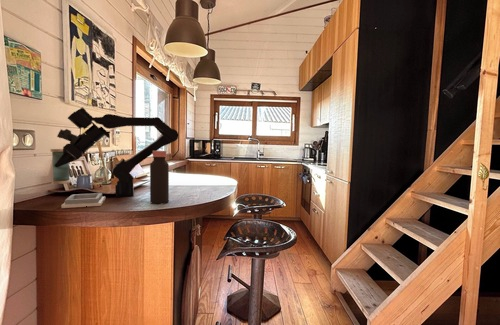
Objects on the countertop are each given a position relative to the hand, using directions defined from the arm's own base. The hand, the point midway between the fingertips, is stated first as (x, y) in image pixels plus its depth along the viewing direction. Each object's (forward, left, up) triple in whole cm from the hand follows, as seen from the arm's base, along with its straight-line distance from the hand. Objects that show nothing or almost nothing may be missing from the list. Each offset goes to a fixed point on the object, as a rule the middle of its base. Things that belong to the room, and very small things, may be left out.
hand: (56, 165), depth 97 cm
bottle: (-36, +14, -14) cm, 41 cm away
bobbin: (-1, 0, -7) cm, 7 cm away
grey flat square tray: (-10, +8, -13) cm, 19 cm away
